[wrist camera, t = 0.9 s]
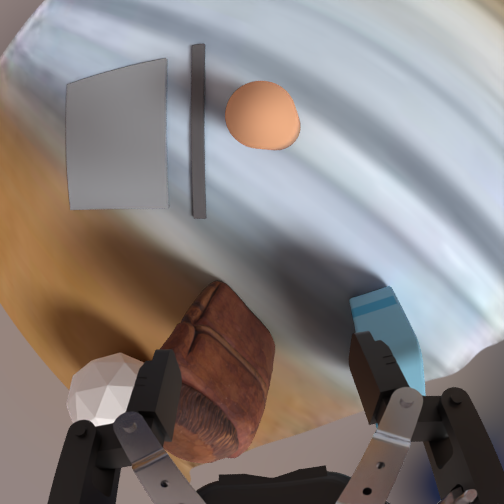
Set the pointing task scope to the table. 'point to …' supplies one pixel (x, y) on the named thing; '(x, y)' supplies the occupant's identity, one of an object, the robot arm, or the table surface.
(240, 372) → the wooden figurine
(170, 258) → the table surface
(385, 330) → the data package
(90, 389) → the geometric sphere
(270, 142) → the throwing cylinder
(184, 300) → the table surface
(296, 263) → the table surface
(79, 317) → the table surface
